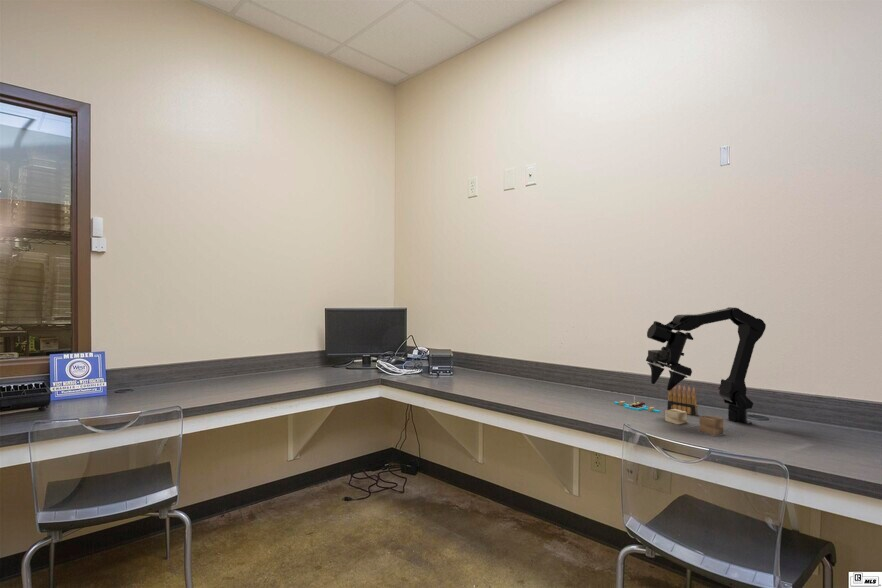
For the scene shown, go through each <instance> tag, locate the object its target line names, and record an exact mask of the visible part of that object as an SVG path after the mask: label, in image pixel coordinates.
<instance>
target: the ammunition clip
mask: <svg viewBox="0 0 882 588" xmlns="http://www.w3.org/2000/svg"><path fill="white" fill-rule="evenodd" d="M667 396H668V397H667V409H666V410H670V409H677V410H681V411H685V412H687V416H688V415H689V416H695V417H696V416H698V405H697V394H696V388H695V386H693V387H692V390H691V387H690V386H689V385H688V387H687V388H686V385H683V388H682V386H681V384H679V385H678V387H677V385H676V386H675V387H674V388H672V389H671V390H670V391H669V390H668V393H667Z"/></svg>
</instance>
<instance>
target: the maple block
mask: <svg viewBox="0 0 882 588" xmlns="http://www.w3.org/2000/svg"><path fill="white" fill-rule="evenodd" d="M664 413H665V414H664V419H665V422H668V423H671V424H675V425H681V424H686V423H687V422H688V420H687V419H688V414H687V412H685V411H681V410H677V409H670V410H667V409H665V412H664Z"/></svg>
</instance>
